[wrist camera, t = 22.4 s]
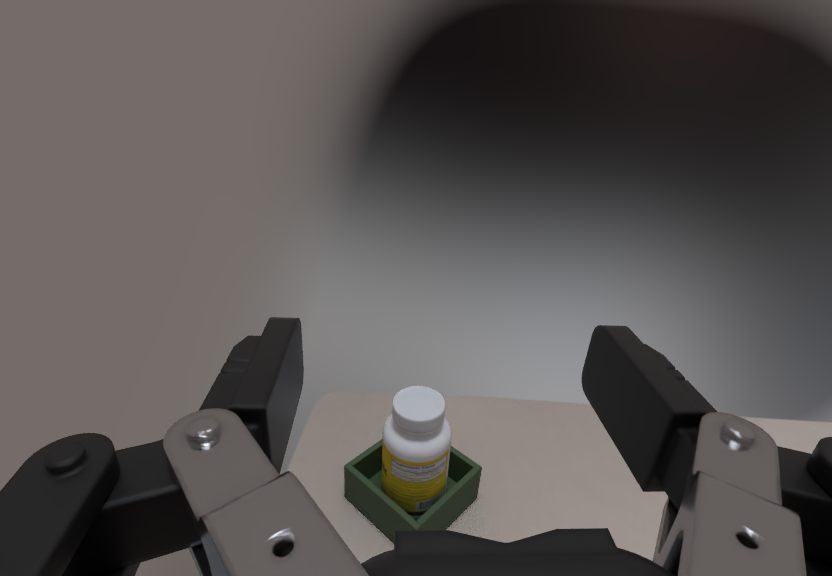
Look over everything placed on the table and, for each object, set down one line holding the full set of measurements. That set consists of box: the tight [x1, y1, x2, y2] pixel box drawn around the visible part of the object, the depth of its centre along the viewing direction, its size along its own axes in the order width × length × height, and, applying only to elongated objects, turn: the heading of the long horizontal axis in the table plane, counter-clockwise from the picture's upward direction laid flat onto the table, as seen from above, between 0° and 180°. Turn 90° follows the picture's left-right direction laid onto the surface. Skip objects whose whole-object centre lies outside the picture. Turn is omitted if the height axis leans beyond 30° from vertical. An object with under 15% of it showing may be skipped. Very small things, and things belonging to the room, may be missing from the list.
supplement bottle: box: [382, 386, 452, 519], centre depth 36 cm, size 5×5×10 cm
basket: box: [344, 440, 482, 544], centre depth 38 cm, size 8×8×4 cm
